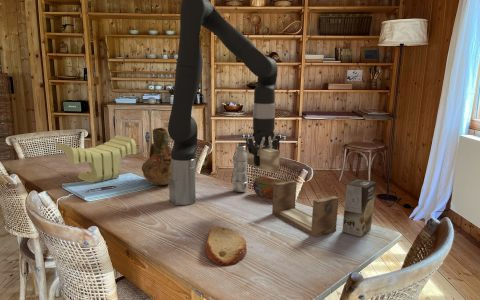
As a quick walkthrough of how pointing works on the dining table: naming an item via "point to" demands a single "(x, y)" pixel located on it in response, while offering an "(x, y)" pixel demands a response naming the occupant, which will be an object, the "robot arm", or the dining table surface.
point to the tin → (265, 186)
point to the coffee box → (358, 207)
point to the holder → (315, 224)
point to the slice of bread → (225, 246)
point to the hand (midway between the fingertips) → (262, 164)
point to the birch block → (266, 159)
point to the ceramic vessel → (158, 159)
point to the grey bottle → (240, 169)
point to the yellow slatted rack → (101, 157)
